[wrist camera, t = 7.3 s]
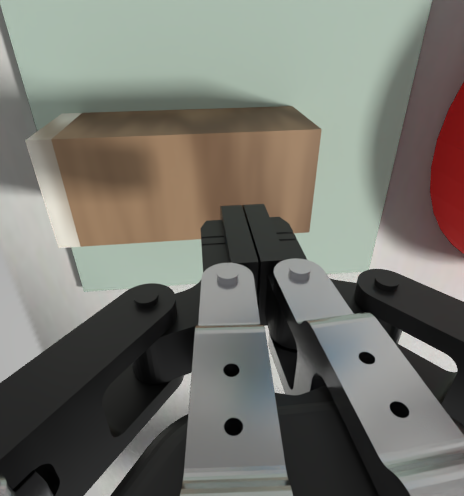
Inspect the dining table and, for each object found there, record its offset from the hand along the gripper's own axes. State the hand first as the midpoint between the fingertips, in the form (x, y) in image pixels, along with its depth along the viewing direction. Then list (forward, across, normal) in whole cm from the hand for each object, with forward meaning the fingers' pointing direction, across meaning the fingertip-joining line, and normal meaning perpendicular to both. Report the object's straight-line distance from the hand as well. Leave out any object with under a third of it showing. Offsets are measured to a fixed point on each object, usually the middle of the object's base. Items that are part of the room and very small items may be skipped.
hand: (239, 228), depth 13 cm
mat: (+10, 0, 0) cm, 10 cm away
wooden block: (+7, -4, 0) cm, 8 cm away
